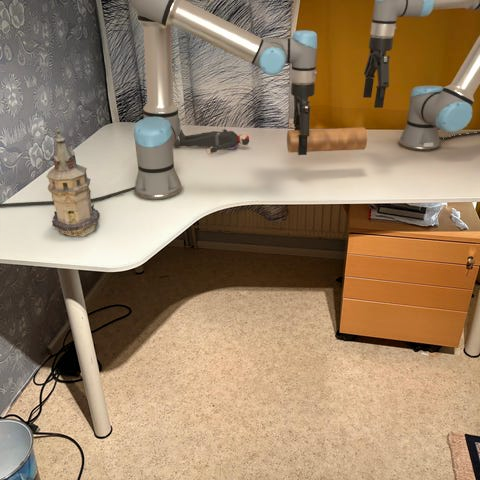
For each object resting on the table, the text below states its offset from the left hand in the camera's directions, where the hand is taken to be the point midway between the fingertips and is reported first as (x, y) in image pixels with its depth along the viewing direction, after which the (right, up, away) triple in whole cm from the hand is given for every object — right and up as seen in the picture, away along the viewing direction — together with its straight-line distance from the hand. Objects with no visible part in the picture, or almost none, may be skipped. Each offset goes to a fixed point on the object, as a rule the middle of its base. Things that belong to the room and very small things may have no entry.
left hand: (300, 150), depth 183 cm
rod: (+9, 0, +1) cm, 9 cm away
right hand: (+25, +17, +1) cm, 30 cm away
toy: (-32, +7, +33) cm, 46 cm away
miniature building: (-68, -27, -27) cm, 78 cm away
